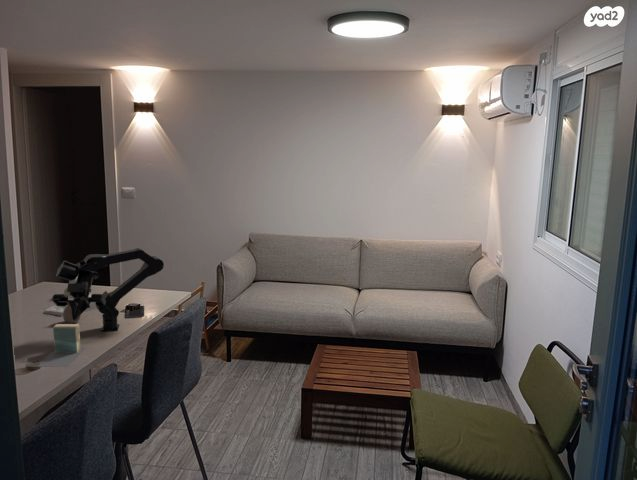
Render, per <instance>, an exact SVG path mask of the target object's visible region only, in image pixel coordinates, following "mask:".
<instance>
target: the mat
mask: <svg viewBox="0 0 637 480" xmlns="http://www.w3.org/2000/svg"><path fill="white" fill-rule="evenodd" d="M86 349H87V348H86V347H81V350H80V351H79V352H78V353H55V349H54V350H53V351H51V352H50V353H49V354H47V356H45V358H43V359H42V360H41V361H40V362H39V363H40V365H38V364H37V365H38V366H37V365H36V366H35V367H37V368H38V367H44V368H45V367H70V366H71V365H72V363H74V362H75V361H76V359H78V358H79V356H81V354H82V353H83V352H85V350H86Z"/></svg>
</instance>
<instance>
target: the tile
mask: <svg viewBox="0 0 637 480" xmlns="http://www.w3.org/2000/svg"><path fill="white" fill-rule="evenodd" d="M52 331H53V345H54V350H55V353H78V352H79V351H80V350H81V348H82V347H81V336H80V335H81V334H80V324H79V323H74V324H68V323H64V324H63V323H62V324H61V323H59V324H58V323H56V324H55V325H54V326H53V327H52Z"/></svg>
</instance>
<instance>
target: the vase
mask: <svg viewBox="0 0 637 480" xmlns="http://www.w3.org/2000/svg"><path fill="white" fill-rule="evenodd" d="M81 315H82V314H81ZM81 315H80V316H79V317H78V318H77V319H76V320H73V318H72V310H71V307H70V306H69V305H67V306H66V308H65V309H64V311H63V316H62V317H63V320H64V322H65V324H78V322H79V321H80V320H81V317H82V316H81Z"/></svg>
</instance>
